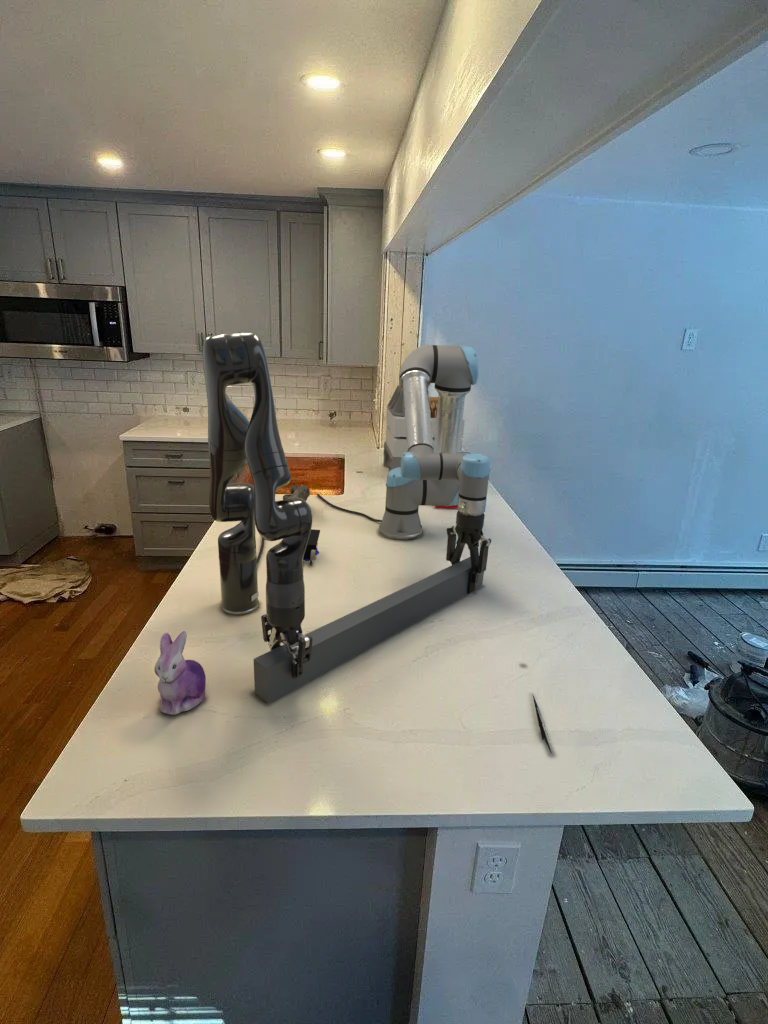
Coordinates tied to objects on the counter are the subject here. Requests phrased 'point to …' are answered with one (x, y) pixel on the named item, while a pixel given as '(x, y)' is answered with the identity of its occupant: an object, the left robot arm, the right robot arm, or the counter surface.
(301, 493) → the fossil
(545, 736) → the feather
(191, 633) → the counter surface
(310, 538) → the figurine character
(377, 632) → the beam
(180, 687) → the figurine
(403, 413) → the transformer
